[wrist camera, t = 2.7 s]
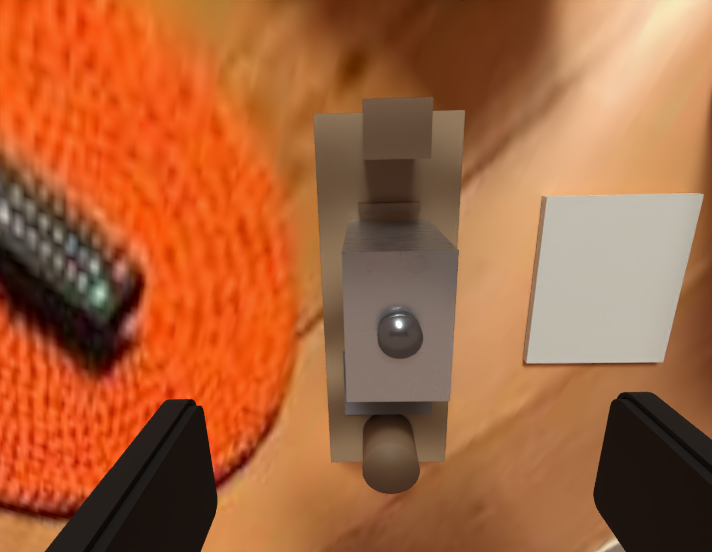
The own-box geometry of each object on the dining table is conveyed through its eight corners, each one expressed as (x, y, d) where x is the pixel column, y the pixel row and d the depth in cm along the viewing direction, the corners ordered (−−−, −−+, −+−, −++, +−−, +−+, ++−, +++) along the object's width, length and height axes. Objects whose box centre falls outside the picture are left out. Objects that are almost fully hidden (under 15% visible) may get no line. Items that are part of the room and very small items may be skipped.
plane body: (323, 121, 22) (295, 100, 13) (445, 118, 22) (501, 95, 13) (336, 415, 28) (323, 538, 19) (432, 414, 28) (464, 538, 19)
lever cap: (348, 220, 20) (340, 256, 13) (428, 219, 20) (463, 255, 13) (351, 329, 21) (346, 411, 15) (424, 328, 21) (453, 411, 15)
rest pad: (542, 196, 23) (546, 197, 23) (695, 193, 23) (704, 194, 23) (522, 358, 27) (526, 363, 26) (656, 357, 27) (663, 362, 26)
